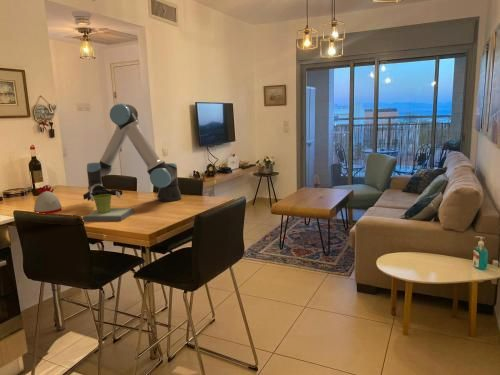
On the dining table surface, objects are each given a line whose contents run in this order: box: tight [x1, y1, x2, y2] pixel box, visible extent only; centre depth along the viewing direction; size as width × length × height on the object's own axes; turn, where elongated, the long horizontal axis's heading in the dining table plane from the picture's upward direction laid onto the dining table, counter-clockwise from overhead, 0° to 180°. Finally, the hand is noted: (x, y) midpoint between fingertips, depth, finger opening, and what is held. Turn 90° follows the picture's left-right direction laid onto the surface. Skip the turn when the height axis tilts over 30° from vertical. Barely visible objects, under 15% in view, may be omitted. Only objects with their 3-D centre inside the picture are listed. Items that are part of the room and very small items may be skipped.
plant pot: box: [93, 194, 113, 213], centre depth 194 cm, size 9×9×9 cm
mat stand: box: [82, 207, 135, 222], centre depth 196 cm, size 20×18×3 cm
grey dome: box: [33, 185, 63, 214], centre depth 210 cm, size 14×14×15 cm
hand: (106, 197), depth 197 cm, fingers open, 13 cm apart
